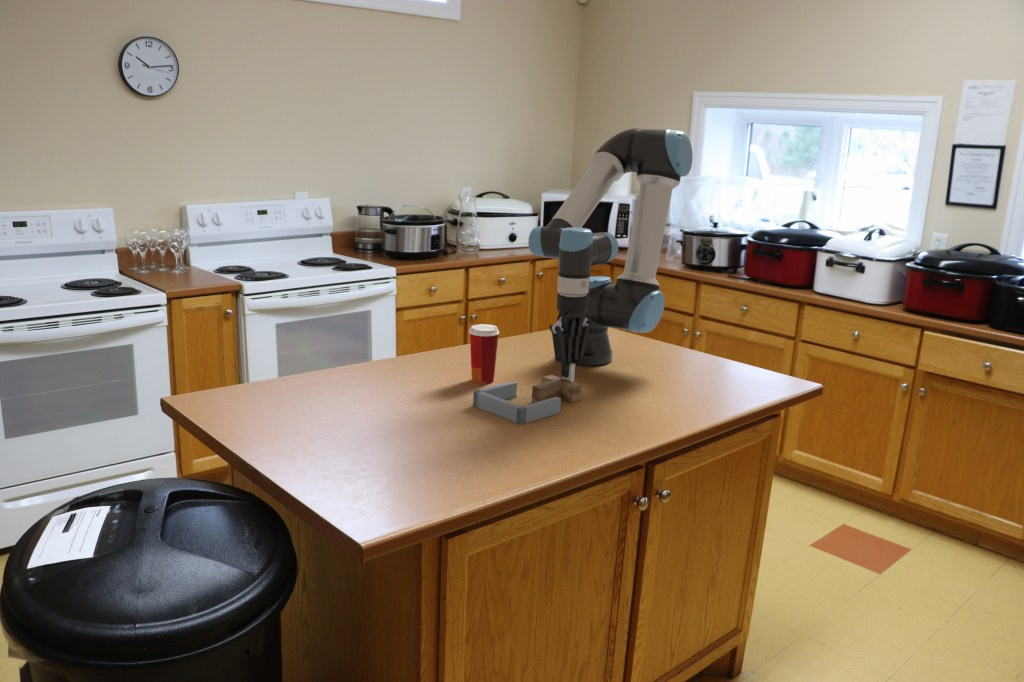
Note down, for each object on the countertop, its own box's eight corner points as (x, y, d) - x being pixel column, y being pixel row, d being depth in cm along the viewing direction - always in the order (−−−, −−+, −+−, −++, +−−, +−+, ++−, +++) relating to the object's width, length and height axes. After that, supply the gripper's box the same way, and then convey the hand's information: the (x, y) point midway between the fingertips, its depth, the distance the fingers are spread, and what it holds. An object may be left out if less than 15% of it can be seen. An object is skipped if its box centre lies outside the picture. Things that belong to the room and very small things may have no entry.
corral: (473, 405, 196) (473, 391, 195) (512, 395, 204) (512, 381, 203) (521, 424, 185) (521, 409, 184) (560, 412, 193) (560, 398, 192)
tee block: (580, 400, 202) (581, 384, 201) (551, 409, 195) (552, 392, 194) (550, 390, 209) (551, 374, 208) (521, 398, 202) (522, 382, 201)
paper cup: (499, 377, 218) (501, 324, 214) (495, 386, 211) (497, 331, 207) (469, 375, 219) (470, 322, 215) (464, 384, 211) (466, 329, 208)
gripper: (566, 299, 193) (560, 397, 199) (602, 293, 202) (596, 387, 207) (542, 294, 198) (537, 390, 204) (579, 288, 207) (574, 380, 213)
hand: (567, 388), depth 206 cm, fingers closed
